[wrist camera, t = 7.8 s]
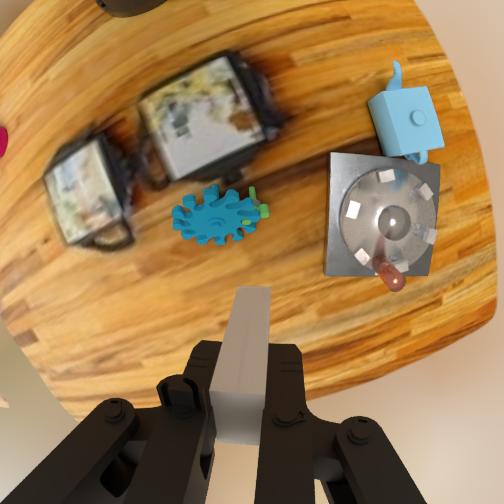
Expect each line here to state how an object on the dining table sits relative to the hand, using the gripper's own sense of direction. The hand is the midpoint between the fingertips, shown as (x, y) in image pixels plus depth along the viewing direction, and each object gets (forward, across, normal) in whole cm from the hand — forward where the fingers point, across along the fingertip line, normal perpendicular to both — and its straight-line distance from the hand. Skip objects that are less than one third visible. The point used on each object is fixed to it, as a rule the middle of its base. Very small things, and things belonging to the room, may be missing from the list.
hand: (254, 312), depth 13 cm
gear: (+23, -5, 0) cm, 24 cm away
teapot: (+24, +16, +13) cm, 31 cm away
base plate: (+23, +15, 0) cm, 27 cm away
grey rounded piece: (+21, +15, 0) cm, 25 cm away
